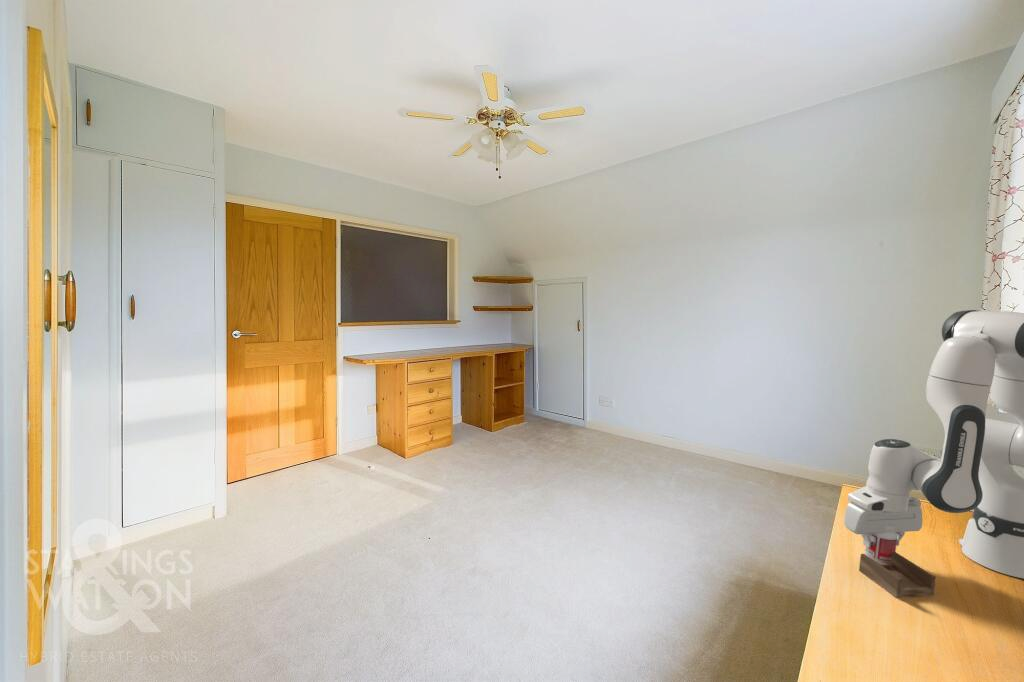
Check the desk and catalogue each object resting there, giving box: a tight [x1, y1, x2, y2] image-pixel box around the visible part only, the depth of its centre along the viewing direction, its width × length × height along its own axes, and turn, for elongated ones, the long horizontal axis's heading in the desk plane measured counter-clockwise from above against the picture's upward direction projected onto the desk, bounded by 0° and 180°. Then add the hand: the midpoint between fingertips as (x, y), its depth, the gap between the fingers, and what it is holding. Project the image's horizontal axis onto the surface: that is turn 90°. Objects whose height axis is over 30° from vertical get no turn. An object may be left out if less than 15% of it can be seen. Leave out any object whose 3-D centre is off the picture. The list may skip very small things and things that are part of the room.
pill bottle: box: [864, 525, 897, 563], centre depth 117 cm, size 6×6×11 cm
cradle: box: [858, 551, 937, 599], centre depth 108 cm, size 10×10×5 cm
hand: (880, 545), depth 117 cm, fingers closed on pill bottle, 6 cm apart
